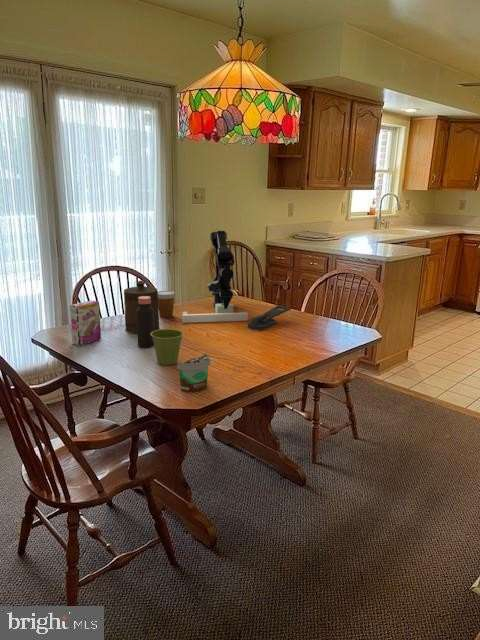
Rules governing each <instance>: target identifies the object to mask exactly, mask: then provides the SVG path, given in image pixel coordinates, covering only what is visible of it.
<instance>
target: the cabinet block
mask: <svg viewBox="0 0 480 640" xmlns="http://www.w3.org/2000/svg"><path fill="white" fill-rule="evenodd" d="M214 309H215V313H234V305H233V304H232V303H231V302H230V303H229V305H228V307H227V309H224V304H223V303H221V304H215V308H214Z"/></svg>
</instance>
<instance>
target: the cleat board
mask: <svg viewBox="0 0 480 640" xmlns="http://www.w3.org/2000/svg"><path fill="white" fill-rule="evenodd" d="M248 316H249V315H248V312H233V313H188V311H182V324H183V323H184V324H185V323H186V324H187V323H188V324H189V323H210V322H211V323H213V322H215V323H217V322H218V323H219V322H239V321H240V322H243V321H244V322H247V321H248V319H249V317H248Z"/></svg>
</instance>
